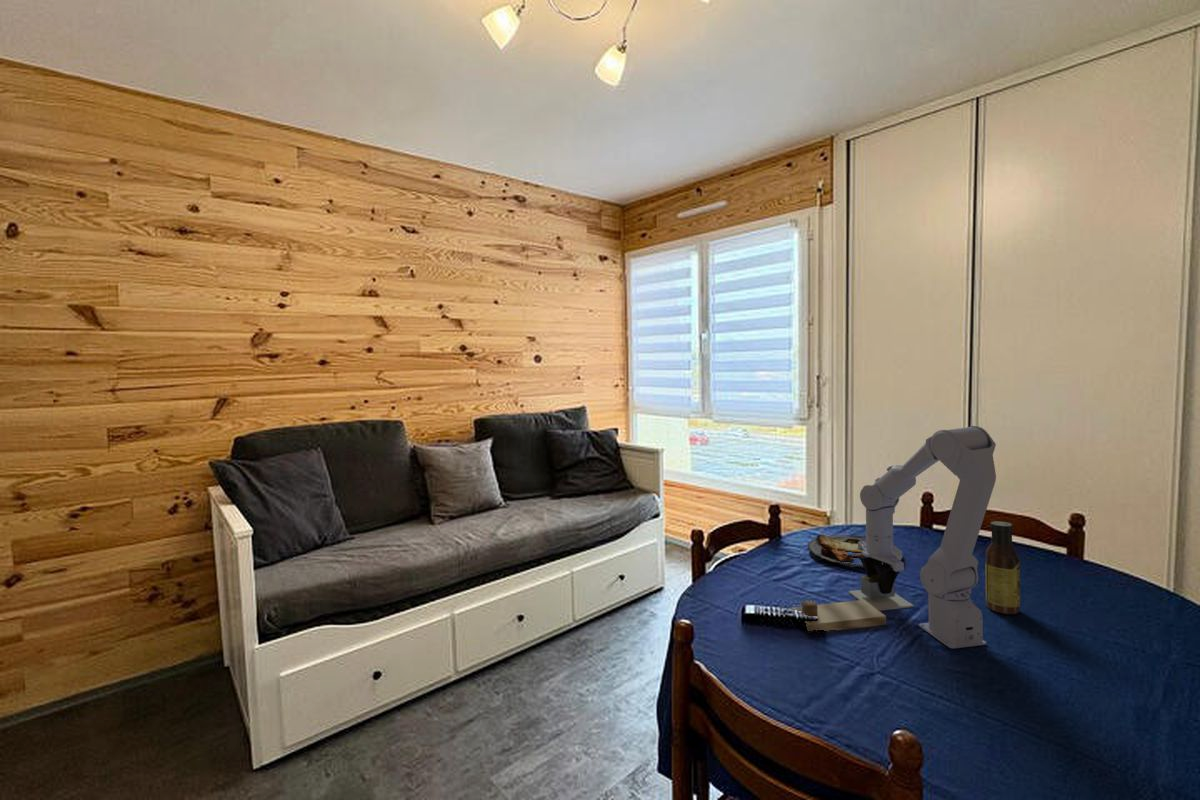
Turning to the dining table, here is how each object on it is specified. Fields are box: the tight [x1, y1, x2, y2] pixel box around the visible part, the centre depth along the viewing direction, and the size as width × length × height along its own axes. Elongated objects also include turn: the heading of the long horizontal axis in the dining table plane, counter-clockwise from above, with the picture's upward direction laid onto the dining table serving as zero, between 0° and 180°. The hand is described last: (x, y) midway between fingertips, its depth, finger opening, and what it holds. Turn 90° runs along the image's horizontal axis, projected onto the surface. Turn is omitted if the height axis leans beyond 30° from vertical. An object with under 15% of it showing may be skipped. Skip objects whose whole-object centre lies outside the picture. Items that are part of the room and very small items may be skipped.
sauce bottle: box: [984, 520, 1021, 615], centre depth 121 cm, size 7×6×20 cm
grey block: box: [860, 574, 896, 599], centre depth 129 cm, size 6×4×5 cm, turn 96°
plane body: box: [790, 599, 887, 632], centre depth 121 cm, size 18×8×4 cm, turn 96°
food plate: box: [807, 533, 903, 568], centre depth 157 cm, size 25×23×4 cm
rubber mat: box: [848, 589, 914, 612], centre depth 129 cm, size 10×10×1 cm
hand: (879, 588), depth 129 cm, fingers closed on grey block, 4 cm apart
